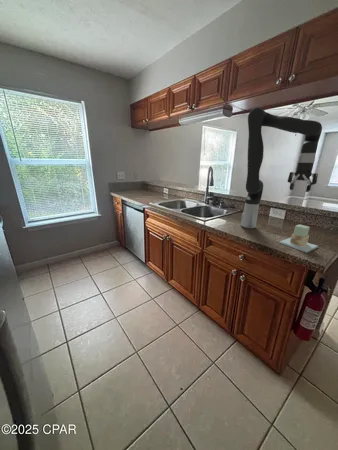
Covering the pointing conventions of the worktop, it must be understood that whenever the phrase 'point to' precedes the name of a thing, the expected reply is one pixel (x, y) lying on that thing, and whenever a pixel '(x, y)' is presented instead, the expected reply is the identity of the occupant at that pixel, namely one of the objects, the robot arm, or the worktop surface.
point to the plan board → (304, 248)
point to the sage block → (301, 230)
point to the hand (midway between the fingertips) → (299, 190)
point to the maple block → (299, 240)
